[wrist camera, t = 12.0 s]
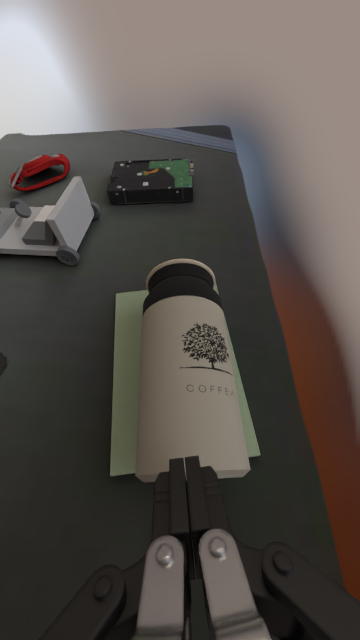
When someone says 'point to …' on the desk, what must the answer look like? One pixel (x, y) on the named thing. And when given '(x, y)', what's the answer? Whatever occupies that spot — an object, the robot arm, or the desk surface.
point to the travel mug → (187, 376)
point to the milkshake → (2, 362)
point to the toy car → (49, 225)
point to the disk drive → (152, 181)
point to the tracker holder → (37, 166)
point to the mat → (129, 379)
